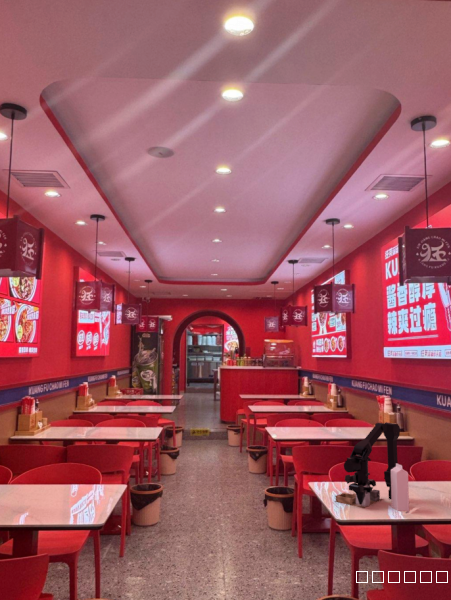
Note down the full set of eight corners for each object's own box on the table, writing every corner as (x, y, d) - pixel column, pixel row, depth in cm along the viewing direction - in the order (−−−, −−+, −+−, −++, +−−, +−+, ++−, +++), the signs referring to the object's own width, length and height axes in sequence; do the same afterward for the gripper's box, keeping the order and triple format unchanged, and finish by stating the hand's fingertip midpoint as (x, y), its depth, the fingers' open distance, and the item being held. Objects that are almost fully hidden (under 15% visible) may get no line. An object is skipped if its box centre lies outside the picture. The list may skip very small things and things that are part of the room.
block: (369, 504, 235) (369, 490, 236) (365, 506, 231) (365, 492, 232) (360, 502, 238) (360, 488, 239) (355, 504, 234) (355, 490, 235)
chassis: (382, 501, 245) (382, 490, 246) (364, 510, 229) (364, 498, 230) (354, 495, 256) (354, 484, 256) (334, 504, 239) (334, 492, 240)
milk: (402, 509, 233) (401, 463, 236) (409, 513, 227) (408, 465, 230) (391, 509, 232) (390, 463, 235) (397, 513, 226) (396, 465, 229)
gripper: (355, 465, 249) (356, 496, 247) (338, 470, 235) (339, 503, 233) (376, 468, 242) (376, 500, 240) (359, 474, 228) (360, 508, 226)
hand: (362, 503), depth 235 cm, fingers closed on block, 5 cm apart
